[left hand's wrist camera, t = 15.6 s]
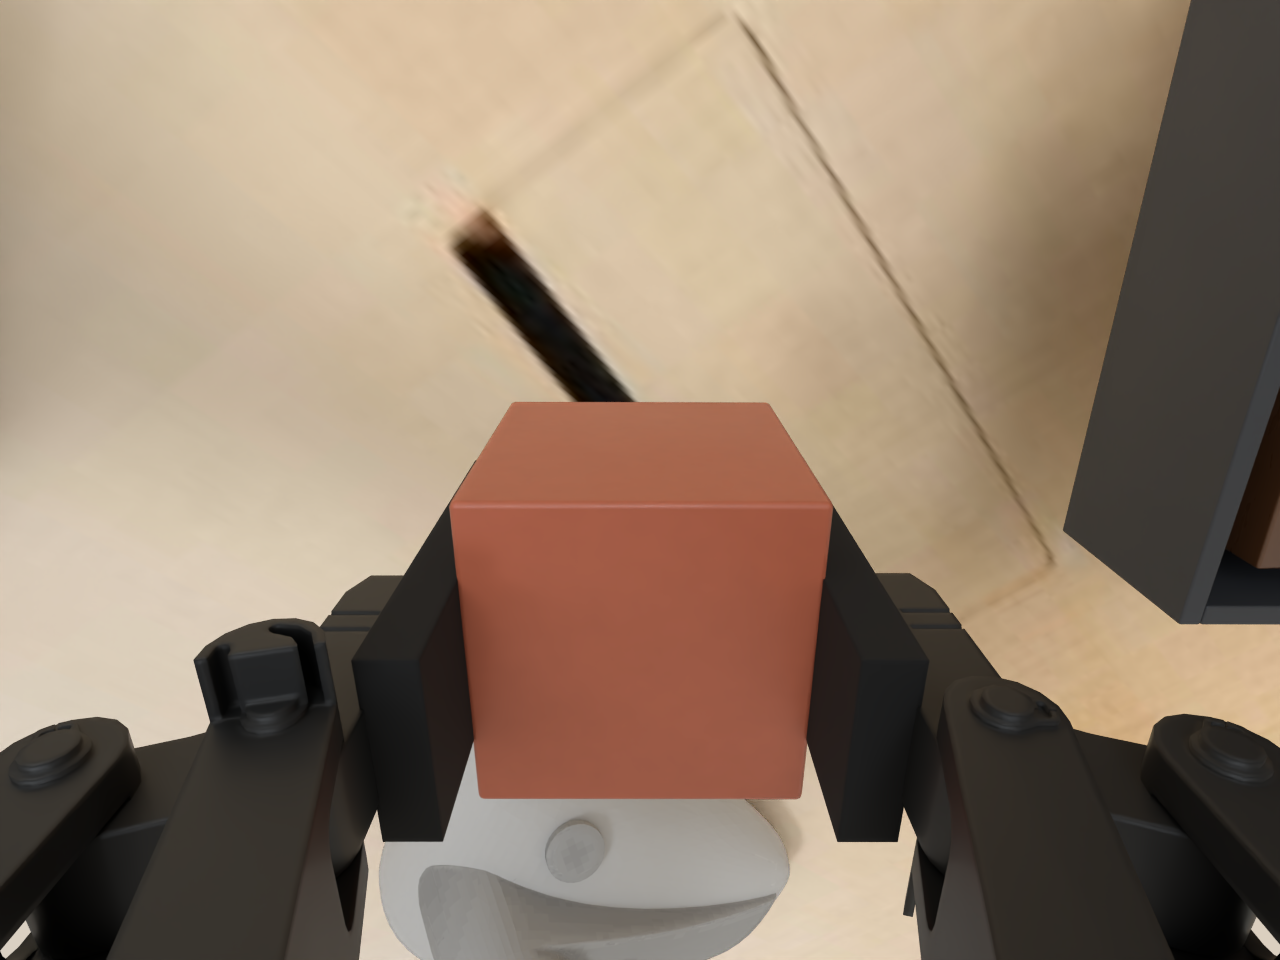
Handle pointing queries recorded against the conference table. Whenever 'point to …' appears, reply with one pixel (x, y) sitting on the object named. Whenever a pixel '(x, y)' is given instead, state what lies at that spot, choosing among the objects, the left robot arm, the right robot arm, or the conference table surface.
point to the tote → (1195, 334)
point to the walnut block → (1261, 503)
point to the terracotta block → (640, 601)
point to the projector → (583, 879)
